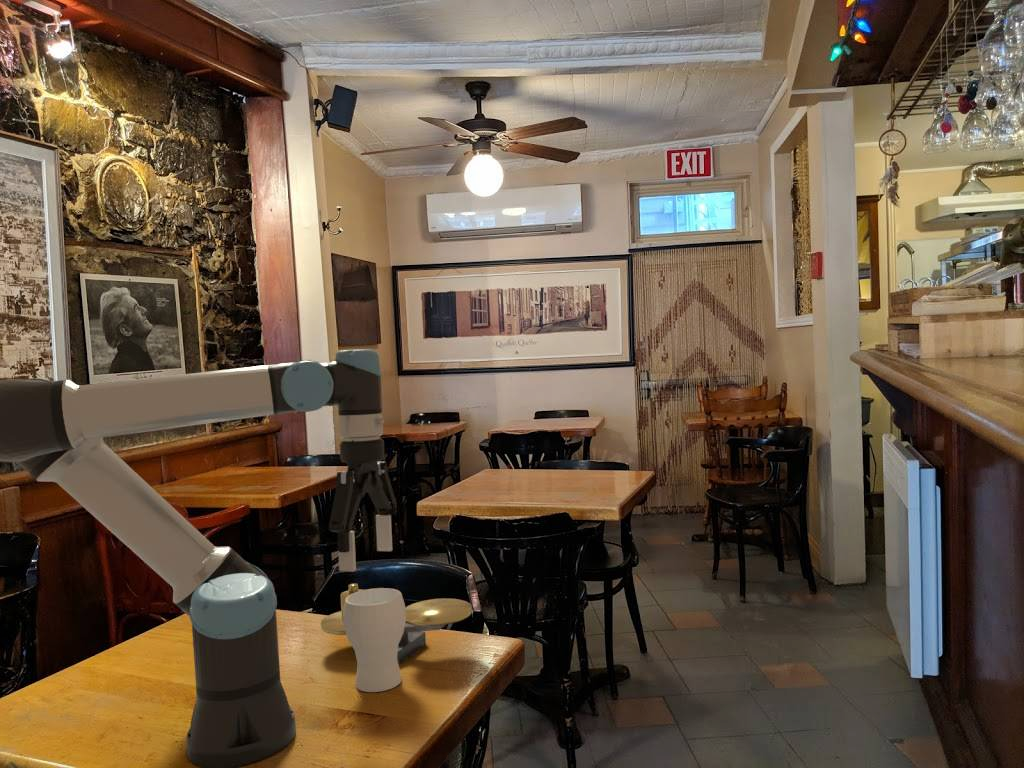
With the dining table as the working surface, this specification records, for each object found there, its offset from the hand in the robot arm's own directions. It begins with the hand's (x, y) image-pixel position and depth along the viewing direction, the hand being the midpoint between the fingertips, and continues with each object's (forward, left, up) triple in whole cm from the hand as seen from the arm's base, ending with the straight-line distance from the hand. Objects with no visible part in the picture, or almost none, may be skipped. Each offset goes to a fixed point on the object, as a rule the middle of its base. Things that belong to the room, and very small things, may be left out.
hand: (367, 560), depth 128 cm
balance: (+12, +2, -21) cm, 24 cm away
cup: (-1, -2, -21) cm, 21 cm away
